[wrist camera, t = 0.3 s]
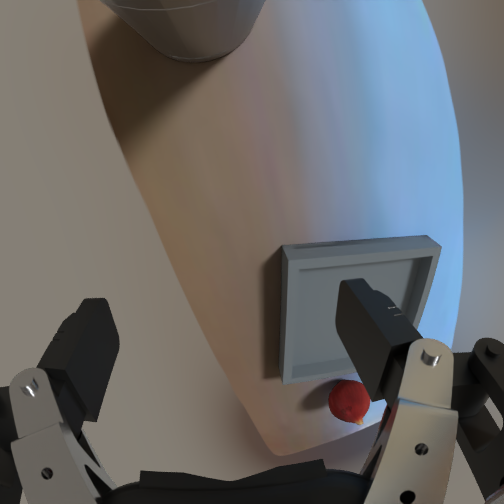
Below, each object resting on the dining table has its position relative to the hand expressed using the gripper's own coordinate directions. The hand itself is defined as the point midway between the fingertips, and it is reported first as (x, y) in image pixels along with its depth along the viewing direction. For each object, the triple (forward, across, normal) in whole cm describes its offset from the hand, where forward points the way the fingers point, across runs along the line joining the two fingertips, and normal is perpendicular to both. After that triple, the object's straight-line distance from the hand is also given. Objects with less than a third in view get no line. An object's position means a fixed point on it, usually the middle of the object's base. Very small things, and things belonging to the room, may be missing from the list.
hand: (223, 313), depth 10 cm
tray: (+18, -14, +14) cm, 27 cm away
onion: (+19, -15, +28) cm, 37 cm away
